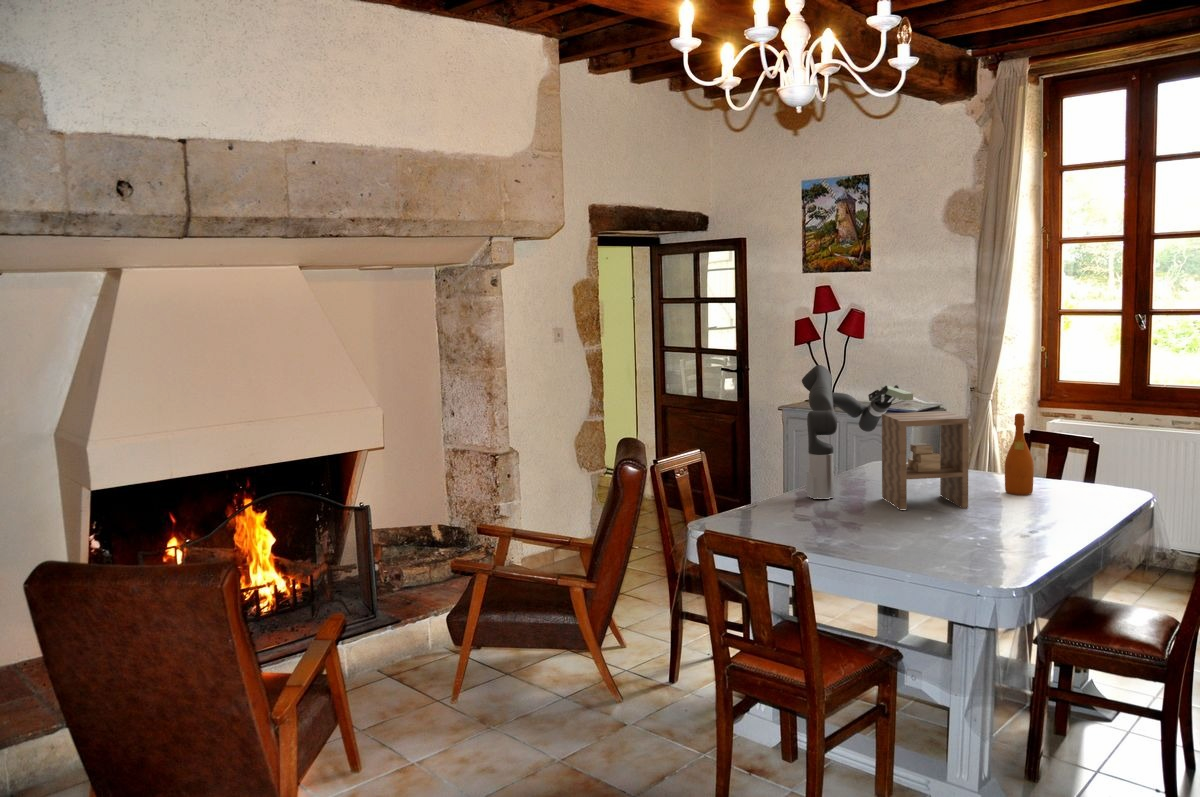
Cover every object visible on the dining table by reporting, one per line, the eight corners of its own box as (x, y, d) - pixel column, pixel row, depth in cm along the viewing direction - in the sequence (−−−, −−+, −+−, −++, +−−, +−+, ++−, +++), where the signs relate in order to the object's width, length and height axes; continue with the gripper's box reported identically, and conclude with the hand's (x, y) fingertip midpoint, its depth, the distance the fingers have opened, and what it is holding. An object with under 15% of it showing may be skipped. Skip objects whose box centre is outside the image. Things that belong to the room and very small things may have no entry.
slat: (881, 392, 382) (881, 386, 382) (889, 392, 382) (889, 386, 382) (903, 400, 356) (903, 393, 356) (913, 400, 356) (913, 393, 356)
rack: (882, 498, 355) (881, 413, 351) (945, 495, 355) (945, 411, 352) (901, 511, 335) (900, 421, 331) (968, 507, 336) (968, 418, 332)
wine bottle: (998, 492, 358) (999, 413, 354) (1017, 489, 362) (1018, 411, 358) (1020, 497, 349) (1021, 416, 345) (1039, 493, 353) (1040, 413, 349)
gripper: (861, 396, 391) (872, 379, 375) (895, 395, 392) (908, 378, 376) (864, 413, 388) (875, 397, 373) (898, 412, 389) (911, 395, 373)
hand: (891, 387), depth 374 cm, fingers closed on slat, 3 cm apart
